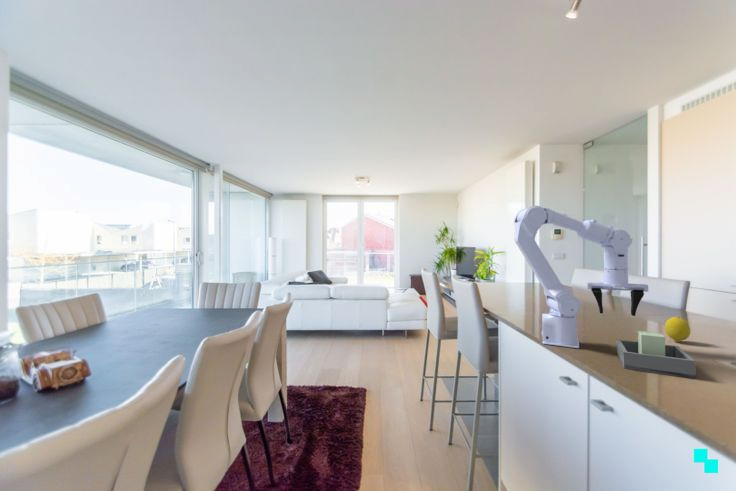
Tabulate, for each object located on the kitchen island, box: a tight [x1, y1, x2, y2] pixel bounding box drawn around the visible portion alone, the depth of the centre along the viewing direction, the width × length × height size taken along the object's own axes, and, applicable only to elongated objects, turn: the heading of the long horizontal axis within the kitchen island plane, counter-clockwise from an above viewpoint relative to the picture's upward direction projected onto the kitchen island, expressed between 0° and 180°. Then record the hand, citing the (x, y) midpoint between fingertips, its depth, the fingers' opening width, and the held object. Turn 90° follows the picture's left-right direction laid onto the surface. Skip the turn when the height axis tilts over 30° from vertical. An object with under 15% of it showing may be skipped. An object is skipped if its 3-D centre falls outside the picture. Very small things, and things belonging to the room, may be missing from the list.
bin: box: [615, 338, 697, 380], centre depth 80 cm, size 13×13×4 cm
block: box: [637, 330, 666, 356], centre depth 80 cm, size 4×4×7 cm
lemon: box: [664, 315, 691, 343], centre depth 98 cm, size 6×6×8 cm
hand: (616, 314), depth 96 cm, fingers open, 7 cm apart
